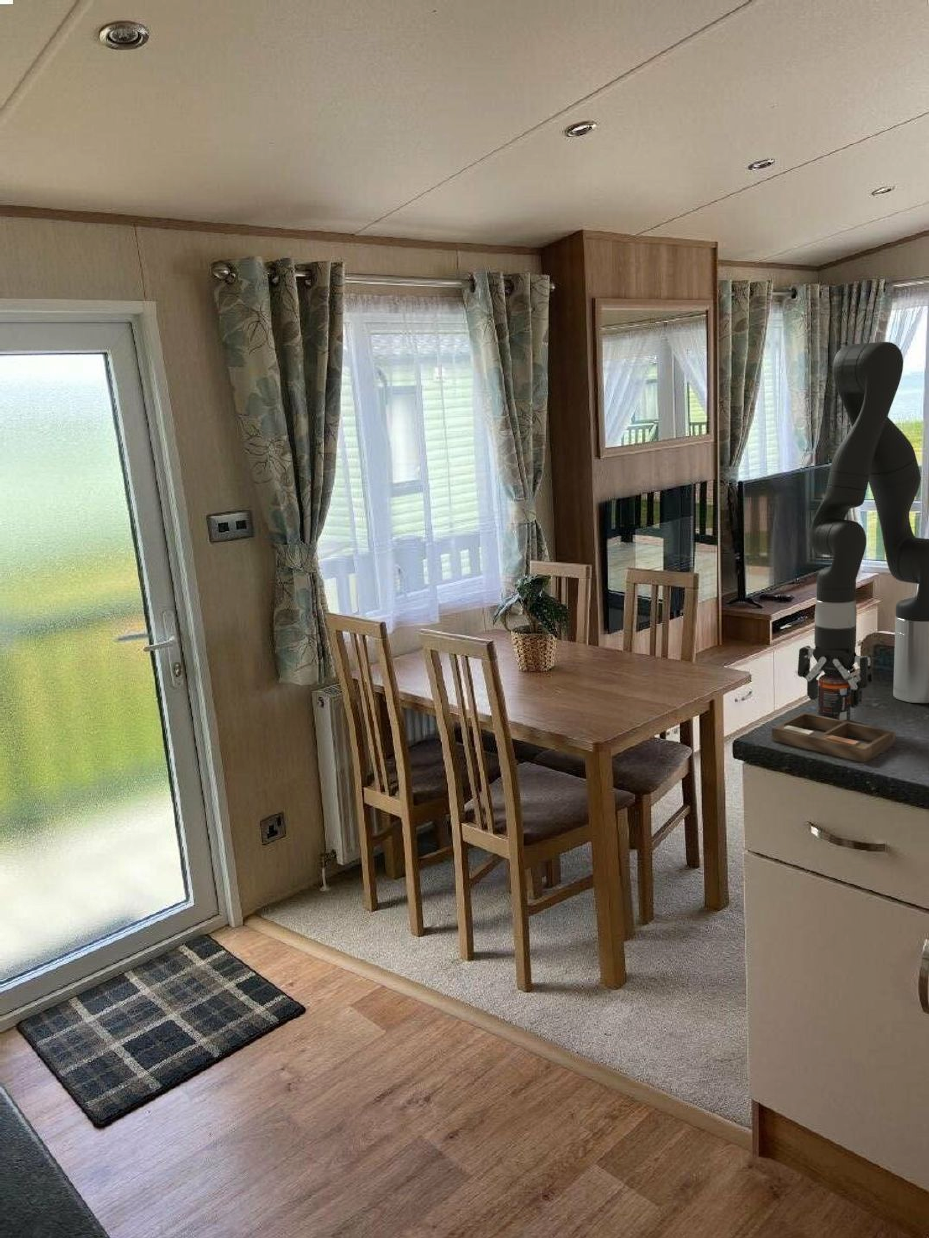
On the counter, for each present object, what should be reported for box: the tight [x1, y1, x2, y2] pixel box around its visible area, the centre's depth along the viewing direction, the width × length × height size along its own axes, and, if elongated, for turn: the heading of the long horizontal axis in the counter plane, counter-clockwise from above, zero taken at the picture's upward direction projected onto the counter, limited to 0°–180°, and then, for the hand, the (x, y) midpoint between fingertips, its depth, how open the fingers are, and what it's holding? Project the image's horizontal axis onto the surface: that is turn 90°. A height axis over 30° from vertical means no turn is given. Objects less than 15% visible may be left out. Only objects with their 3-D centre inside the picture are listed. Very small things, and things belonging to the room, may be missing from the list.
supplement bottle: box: [817, 667, 852, 722], centre depth 186 cm, size 6×6×11 cm
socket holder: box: [771, 712, 896, 764], centre depth 176 cm, size 18×11×3 cm, turn 41°
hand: (833, 702), depth 186 cm, fingers open, 8 cm apart
